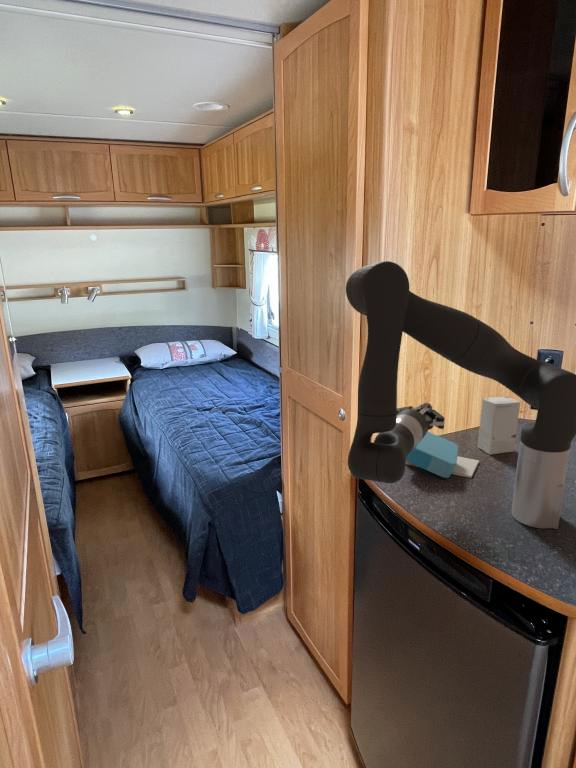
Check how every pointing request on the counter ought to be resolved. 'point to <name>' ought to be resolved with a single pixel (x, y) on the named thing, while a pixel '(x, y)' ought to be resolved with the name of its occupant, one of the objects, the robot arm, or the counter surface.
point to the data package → (435, 455)
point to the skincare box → (498, 425)
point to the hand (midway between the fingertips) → (427, 407)
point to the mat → (464, 467)
